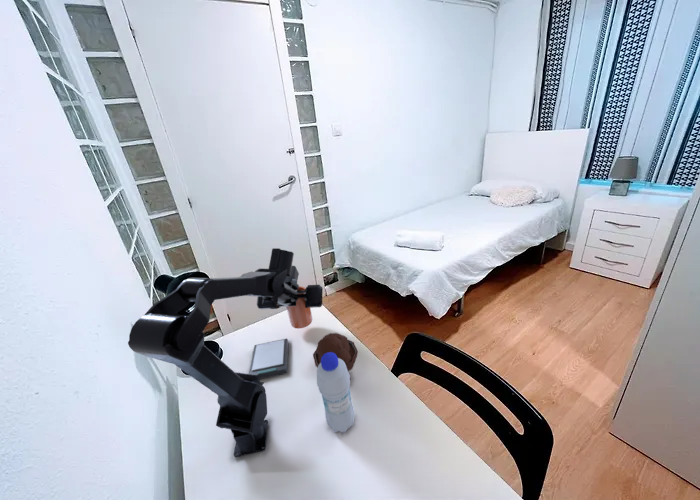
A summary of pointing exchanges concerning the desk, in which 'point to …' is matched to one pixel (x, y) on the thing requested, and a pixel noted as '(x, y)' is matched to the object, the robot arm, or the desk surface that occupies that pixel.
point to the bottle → (335, 392)
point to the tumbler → (299, 313)
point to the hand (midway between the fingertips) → (299, 301)
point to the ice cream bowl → (336, 349)
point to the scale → (269, 359)
